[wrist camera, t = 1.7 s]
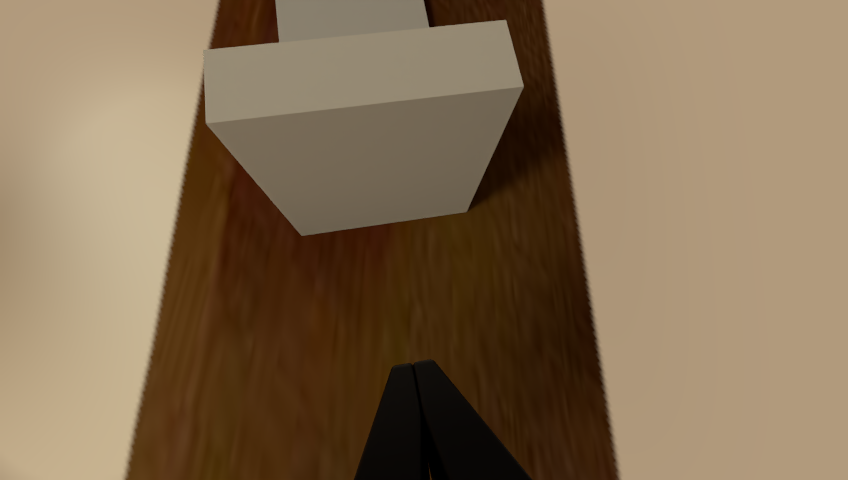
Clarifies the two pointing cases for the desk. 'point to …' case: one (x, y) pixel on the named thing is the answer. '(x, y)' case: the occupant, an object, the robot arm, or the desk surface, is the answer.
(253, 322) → the desk surface
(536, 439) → the desk surface
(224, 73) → the tile
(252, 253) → the desk surface
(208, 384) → the desk surface
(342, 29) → the mat
